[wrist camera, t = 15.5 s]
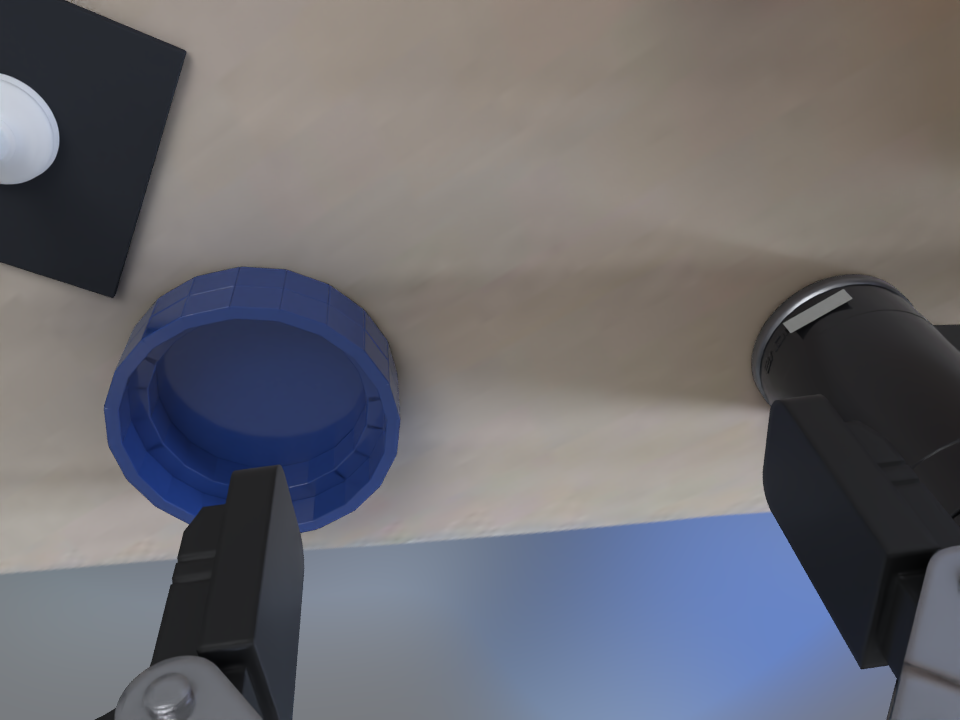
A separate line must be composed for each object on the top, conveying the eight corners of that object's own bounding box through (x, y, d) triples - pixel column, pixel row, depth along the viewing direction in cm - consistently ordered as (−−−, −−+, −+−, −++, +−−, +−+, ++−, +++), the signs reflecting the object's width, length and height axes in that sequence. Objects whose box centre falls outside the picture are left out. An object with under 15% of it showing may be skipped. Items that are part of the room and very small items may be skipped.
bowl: (437, 318, 47) (443, 364, 44) (342, 510, 54) (340, 564, 50) (166, 223, 43) (147, 264, 39) (97, 444, 49) (75, 497, 46)
